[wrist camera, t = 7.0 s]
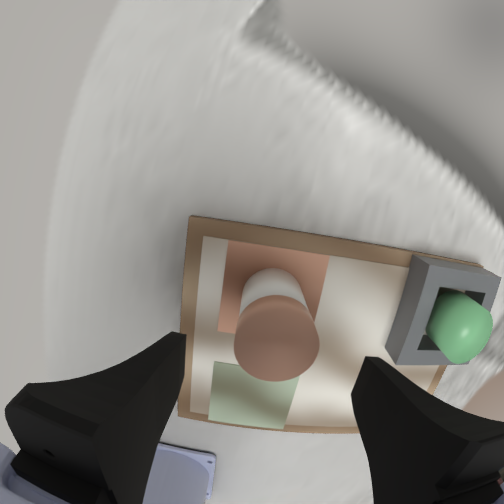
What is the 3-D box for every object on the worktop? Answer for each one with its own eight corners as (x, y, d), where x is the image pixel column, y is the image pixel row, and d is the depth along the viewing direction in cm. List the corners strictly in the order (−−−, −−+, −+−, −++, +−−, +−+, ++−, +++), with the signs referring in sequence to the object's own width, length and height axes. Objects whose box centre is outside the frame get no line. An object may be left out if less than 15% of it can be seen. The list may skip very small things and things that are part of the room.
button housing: (453, 348, 19) (468, 364, 17) (383, 346, 19) (395, 365, 17) (482, 267, 18) (501, 277, 15) (412, 254, 18) (429, 264, 15)
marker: (298, 325, 19) (311, 383, 13) (239, 321, 19) (231, 378, 13) (306, 269, 18) (326, 312, 12) (243, 264, 18) (236, 305, 12)
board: (410, 425, 22) (412, 431, 22) (179, 411, 22) (177, 417, 22) (479, 264, 18) (485, 267, 18) (191, 215, 18) (188, 217, 18)
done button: (457, 341, 18) (478, 362, 15) (417, 340, 18) (436, 364, 15) (475, 292, 17) (500, 309, 14) (435, 287, 17) (460, 305, 14)
